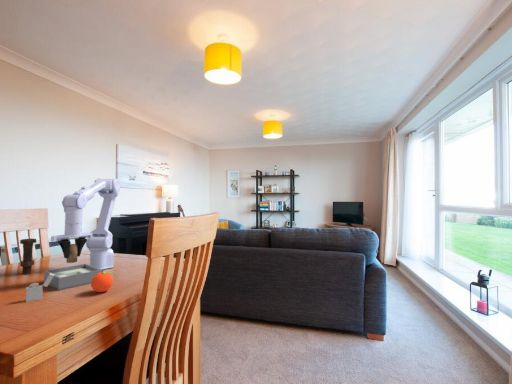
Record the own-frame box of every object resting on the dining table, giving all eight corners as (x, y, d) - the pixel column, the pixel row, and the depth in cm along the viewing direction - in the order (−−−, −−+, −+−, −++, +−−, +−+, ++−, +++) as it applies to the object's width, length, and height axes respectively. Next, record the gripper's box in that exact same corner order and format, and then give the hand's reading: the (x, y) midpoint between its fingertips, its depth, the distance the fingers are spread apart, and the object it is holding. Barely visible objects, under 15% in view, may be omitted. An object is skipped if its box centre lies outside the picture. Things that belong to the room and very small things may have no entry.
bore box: (85, 273, 116) (86, 263, 116) (102, 280, 106) (102, 269, 107) (43, 282, 104) (44, 270, 104) (58, 290, 94) (59, 278, 94)
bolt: (24, 275, 111) (25, 240, 112) (15, 274, 112) (16, 240, 113) (38, 272, 117) (39, 238, 118) (29, 271, 118) (30, 238, 119)
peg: (74, 260, 109) (75, 243, 109) (78, 261, 107) (79, 244, 107) (64, 262, 106) (65, 244, 106) (69, 263, 104) (69, 245, 104)
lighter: (25, 302, 84) (26, 277, 84) (25, 300, 85) (26, 275, 85) (53, 297, 88) (54, 273, 89) (53, 295, 90) (54, 272, 90)
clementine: (111, 286, 100) (111, 267, 100) (119, 290, 95) (119, 271, 96) (87, 291, 94) (88, 272, 94) (94, 296, 89) (95, 275, 89)
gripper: (86, 222, 115) (85, 253, 115) (47, 224, 103) (46, 259, 102) (95, 223, 112) (94, 254, 111) (56, 225, 99) (55, 261, 99)
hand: (72, 257), depth 106 cm, fingers closed on peg, 4 cm apart
